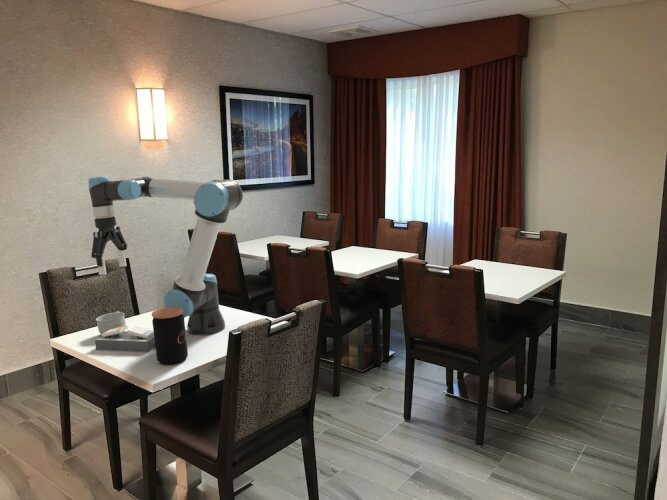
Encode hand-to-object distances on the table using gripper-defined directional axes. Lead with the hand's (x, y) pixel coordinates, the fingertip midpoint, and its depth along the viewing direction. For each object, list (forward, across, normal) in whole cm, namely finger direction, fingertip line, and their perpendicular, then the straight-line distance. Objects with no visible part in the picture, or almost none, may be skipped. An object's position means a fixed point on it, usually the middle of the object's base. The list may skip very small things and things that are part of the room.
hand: (113, 270), depth 214 cm
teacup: (+28, -4, -6) cm, 28 cm away
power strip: (+28, +10, +10) cm, 31 cm away
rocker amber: (+22, +10, +3) cm, 24 cm away
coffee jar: (+29, +21, +32) cm, 48 cm away
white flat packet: (+22, +10, +14) cm, 28 cm away
